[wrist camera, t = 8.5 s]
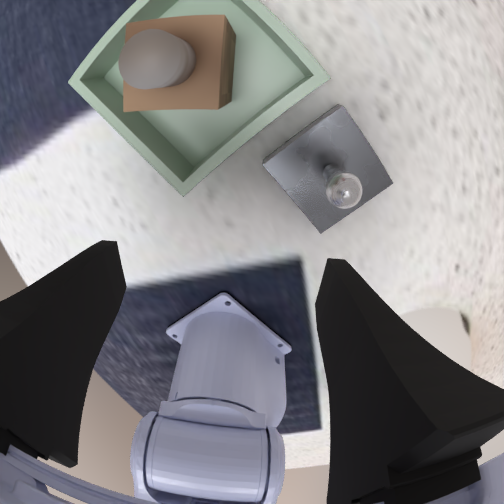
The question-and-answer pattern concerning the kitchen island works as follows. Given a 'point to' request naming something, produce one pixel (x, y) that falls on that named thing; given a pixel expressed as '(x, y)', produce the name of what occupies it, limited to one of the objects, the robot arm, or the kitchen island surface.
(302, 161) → the stud plate
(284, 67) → the bin
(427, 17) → the kitchen island surface
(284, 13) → the kitchen island surface
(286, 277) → the kitchen island surface
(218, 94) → the brown square bottle
